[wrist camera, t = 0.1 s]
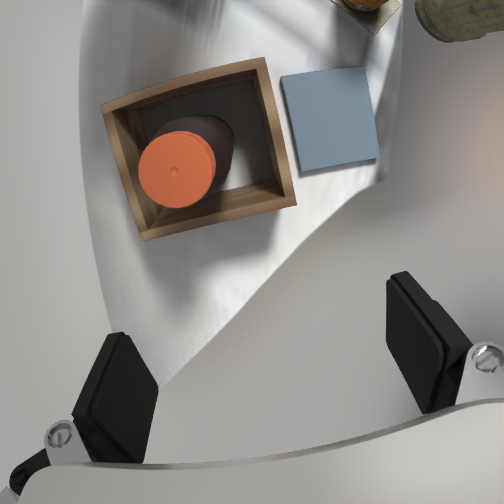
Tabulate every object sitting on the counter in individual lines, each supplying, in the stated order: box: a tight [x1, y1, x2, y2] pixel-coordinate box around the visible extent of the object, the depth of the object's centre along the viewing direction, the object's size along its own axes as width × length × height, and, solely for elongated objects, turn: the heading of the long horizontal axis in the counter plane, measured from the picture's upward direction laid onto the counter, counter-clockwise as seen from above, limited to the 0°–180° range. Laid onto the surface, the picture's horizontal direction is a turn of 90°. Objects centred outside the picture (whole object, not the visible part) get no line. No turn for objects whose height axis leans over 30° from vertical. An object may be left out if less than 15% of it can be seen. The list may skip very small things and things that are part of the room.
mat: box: [281, 66, 380, 172], centre depth 36 cm, size 12×10×1 cm
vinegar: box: [138, 116, 234, 209], centre depth 28 cm, size 7×7×20 cm
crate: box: [101, 57, 297, 241], centre depth 33 cm, size 15×16×9 cm
